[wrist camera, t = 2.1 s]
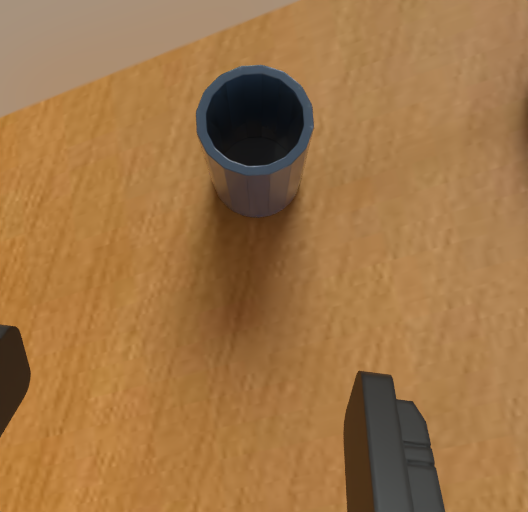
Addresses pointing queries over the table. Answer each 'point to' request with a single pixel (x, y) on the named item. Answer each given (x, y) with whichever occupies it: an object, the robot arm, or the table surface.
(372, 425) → the robot arm
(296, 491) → the table surface
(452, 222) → the table surface
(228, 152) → the cup
